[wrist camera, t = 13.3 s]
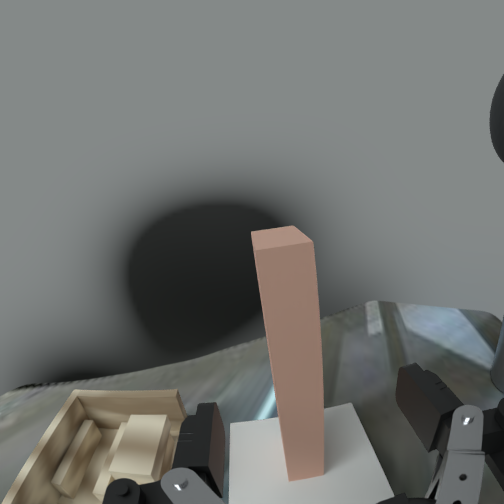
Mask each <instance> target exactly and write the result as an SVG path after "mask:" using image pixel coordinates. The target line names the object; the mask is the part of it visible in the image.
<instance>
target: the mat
mask: <svg viewBox="0 0 504 504" xmlns="http://www.w3.org/2000/svg"><path fill="white" fill-rule="evenodd" d="M392 497H394V494H393V492H392V489H391V487H390V485H389V483H388V480H387V478H386V476H385V474H384V472H383V469H382V467H381V465H380V463H379V461H378V459H377V456H376V454H375V452H374V450H373V448H372V446H371V443H370V441H369V439H368V437H367V435H366V433H365V431H364V428H363V426H362V424H361V422H360V420H359V418H358V416H357V414H356V412H355V409H354V407H353V405H352V403H347V404H343V405H339V406H334V407H330V408H325V409H324V475H322V476H317V477H313V478H307V479H302V480H296V481H290V482H289V480H288V474H287V468H286V462H285V456H284V450H283V444H282V438H281V431H280V424H279V417H277V418H270V419H263V420H255V421H247V422H238V423H230V466H229V504H376V503H378V502H380V501H383V500H386V499H389V498H392Z"/></svg>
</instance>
